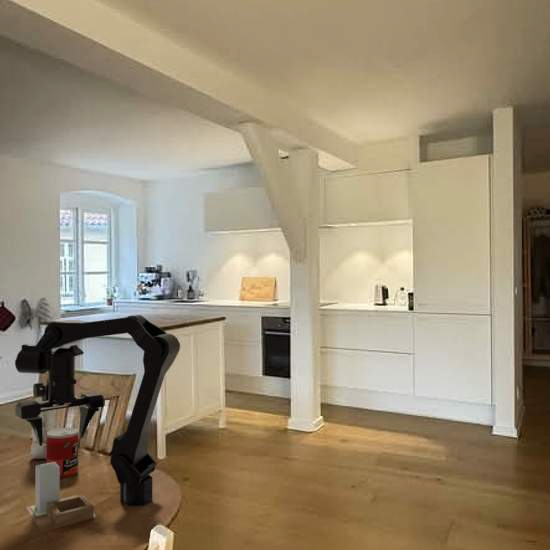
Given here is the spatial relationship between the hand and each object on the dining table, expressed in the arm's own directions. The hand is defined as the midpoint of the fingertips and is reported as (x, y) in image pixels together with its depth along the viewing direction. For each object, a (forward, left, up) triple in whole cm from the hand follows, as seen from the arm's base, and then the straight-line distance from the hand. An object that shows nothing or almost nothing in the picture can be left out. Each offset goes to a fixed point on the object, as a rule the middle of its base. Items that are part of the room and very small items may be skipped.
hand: (61, 441), depth 123 cm
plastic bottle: (+25, -19, -13) cm, 34 cm away
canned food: (+11, -12, -13) cm, 21 cm away
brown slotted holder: (-7, +7, -13) cm, 17 cm away
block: (-3, +7, -12) cm, 14 cm away
